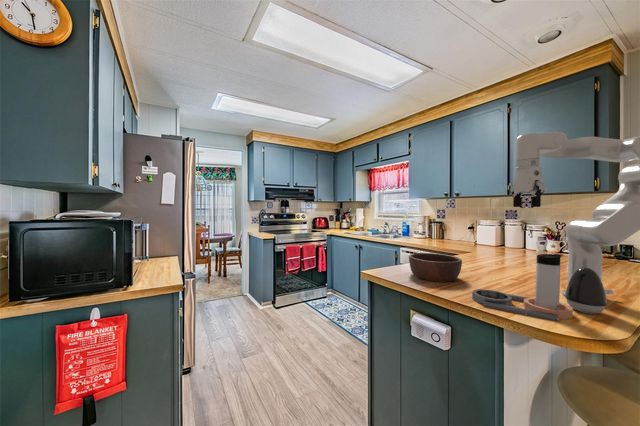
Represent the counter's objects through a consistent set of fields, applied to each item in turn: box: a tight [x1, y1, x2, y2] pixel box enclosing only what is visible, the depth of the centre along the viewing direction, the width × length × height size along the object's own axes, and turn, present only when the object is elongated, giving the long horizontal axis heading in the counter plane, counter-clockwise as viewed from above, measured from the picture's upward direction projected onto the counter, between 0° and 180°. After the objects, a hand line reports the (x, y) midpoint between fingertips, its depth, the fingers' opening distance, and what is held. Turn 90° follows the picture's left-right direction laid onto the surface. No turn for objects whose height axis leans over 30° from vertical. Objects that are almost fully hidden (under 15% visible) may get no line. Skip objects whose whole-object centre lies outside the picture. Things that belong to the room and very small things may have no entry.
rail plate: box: [471, 288, 559, 322], centre depth 96 cm, size 24×17×2 cm
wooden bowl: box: [408, 252, 463, 283], centre depth 133 cm, size 25×25×10 cm
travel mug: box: [534, 253, 562, 310], centre depth 89 cm, size 6×7×20 cm
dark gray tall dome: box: [564, 268, 608, 315], centre depth 90 cm, size 10×10×15 cm
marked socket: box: [523, 297, 574, 320], centre depth 90 cm, size 12×12×2 cm
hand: (526, 206), depth 106 cm, fingers open, 9 cm apart
